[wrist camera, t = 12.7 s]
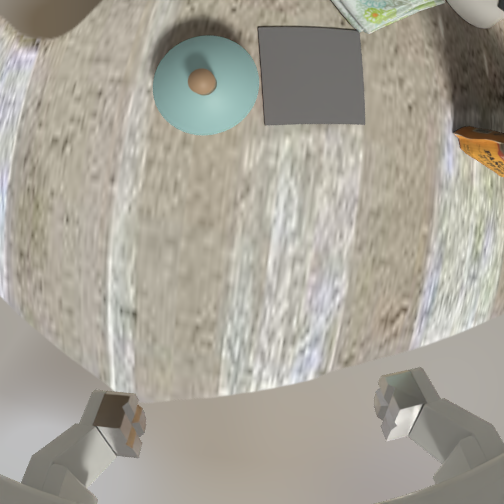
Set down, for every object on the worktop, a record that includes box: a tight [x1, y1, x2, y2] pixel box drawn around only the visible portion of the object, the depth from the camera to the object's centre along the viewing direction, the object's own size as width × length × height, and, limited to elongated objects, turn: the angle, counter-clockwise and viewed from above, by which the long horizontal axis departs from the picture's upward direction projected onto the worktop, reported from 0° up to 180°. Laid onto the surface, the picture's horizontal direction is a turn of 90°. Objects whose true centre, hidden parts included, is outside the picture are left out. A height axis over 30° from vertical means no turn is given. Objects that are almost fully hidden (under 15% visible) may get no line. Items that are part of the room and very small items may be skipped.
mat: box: [258, 27, 365, 125], centre depth 38 cm, size 14×14×1 cm
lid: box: [153, 35, 259, 135], centre depth 32 cm, size 12×12×4 cm
